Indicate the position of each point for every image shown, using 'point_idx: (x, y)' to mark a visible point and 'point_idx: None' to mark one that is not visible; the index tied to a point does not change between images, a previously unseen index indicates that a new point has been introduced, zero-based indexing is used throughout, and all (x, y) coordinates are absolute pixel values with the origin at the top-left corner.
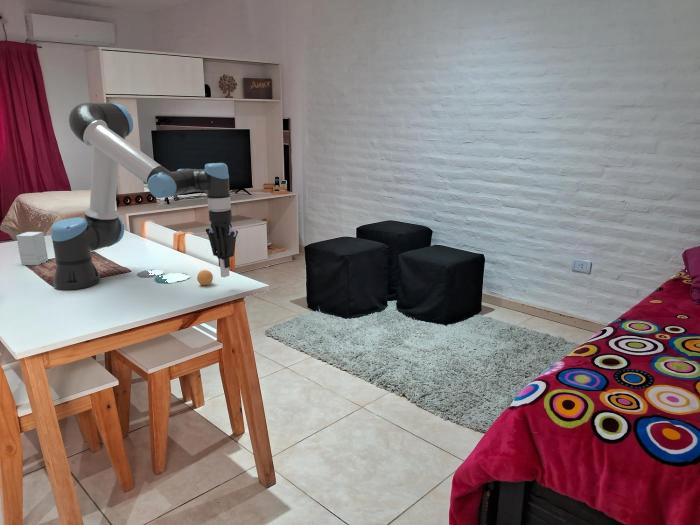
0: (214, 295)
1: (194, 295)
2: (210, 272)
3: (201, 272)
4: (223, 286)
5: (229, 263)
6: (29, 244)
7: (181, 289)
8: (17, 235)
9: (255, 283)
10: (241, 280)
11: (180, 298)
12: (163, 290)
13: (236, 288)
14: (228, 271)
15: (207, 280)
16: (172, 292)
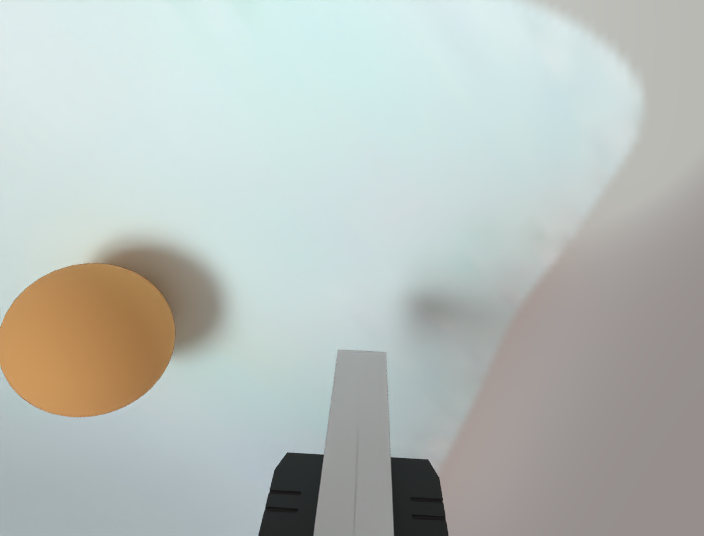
0: None
1: (262, 477)
2: (98, 337)
3: (61, 414)
4: (288, 265)
5: (442, 515)
6: None
7: (86, 434)
8: None
9: (522, 36)
10: (306, 20)
11: (235, 532)
12: (17, 484)
13: (429, 258)
14: (387, 396)
15: (167, 363)
16: (98, 488)
